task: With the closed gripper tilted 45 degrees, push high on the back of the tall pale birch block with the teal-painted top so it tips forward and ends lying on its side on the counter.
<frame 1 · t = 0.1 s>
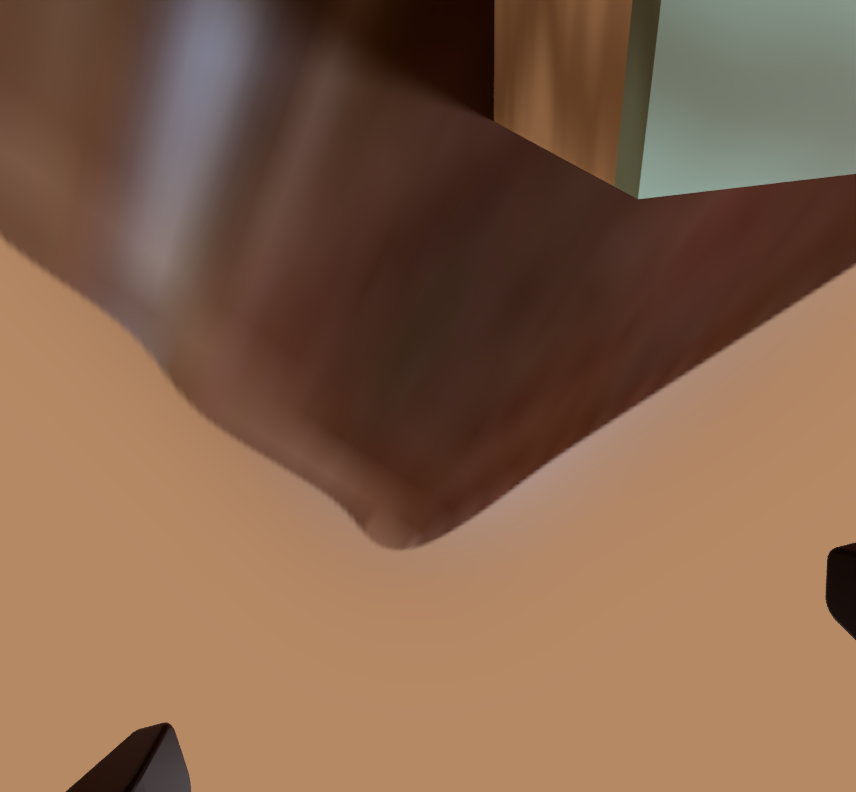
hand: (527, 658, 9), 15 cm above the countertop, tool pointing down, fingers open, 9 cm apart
birch block: (592, 32, 20), on the countertop
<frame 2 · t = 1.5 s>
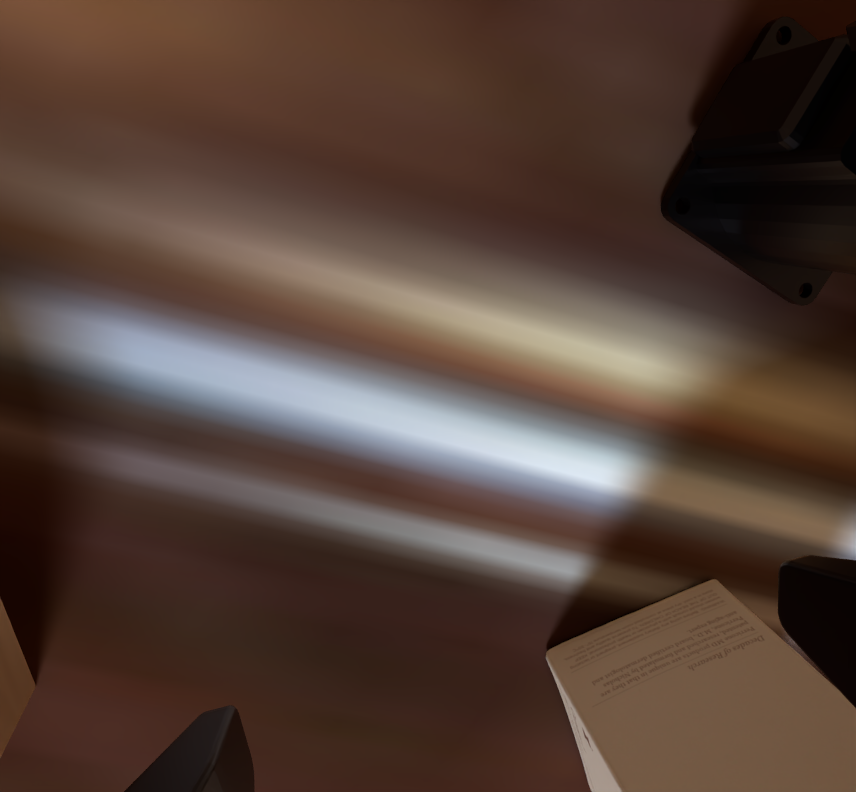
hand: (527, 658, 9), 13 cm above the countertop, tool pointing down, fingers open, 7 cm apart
supplement box: (645, 680, 27), on the countertop
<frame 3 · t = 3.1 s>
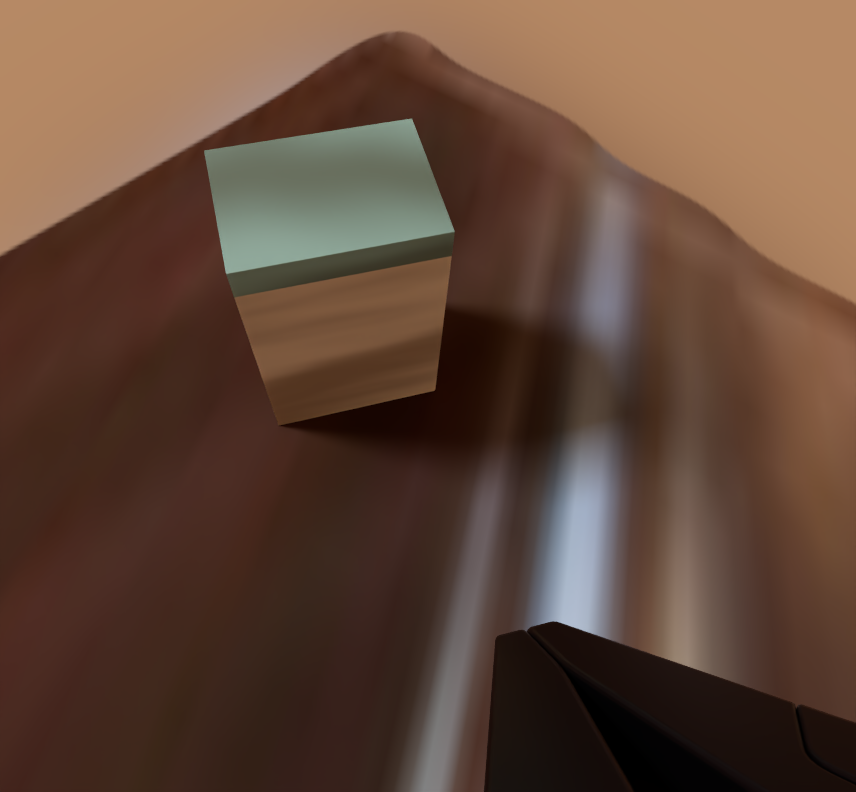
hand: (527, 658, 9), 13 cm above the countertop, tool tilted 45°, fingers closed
birch block: (345, 358, 26), on the countertop
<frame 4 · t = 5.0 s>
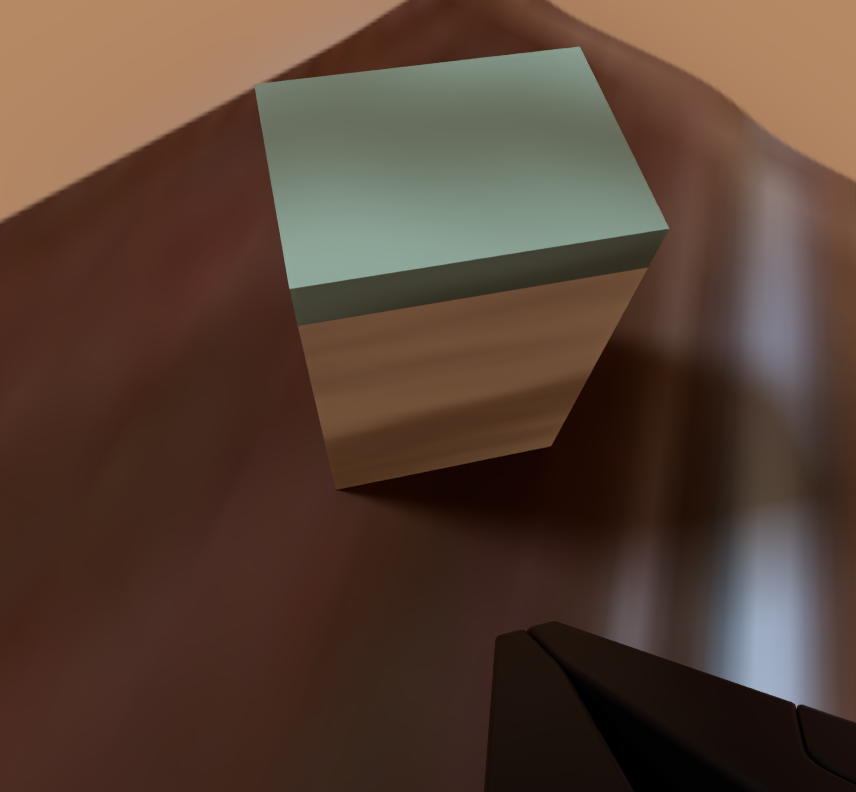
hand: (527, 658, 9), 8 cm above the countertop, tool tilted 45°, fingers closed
birch block: (427, 396, 19), on the countertop
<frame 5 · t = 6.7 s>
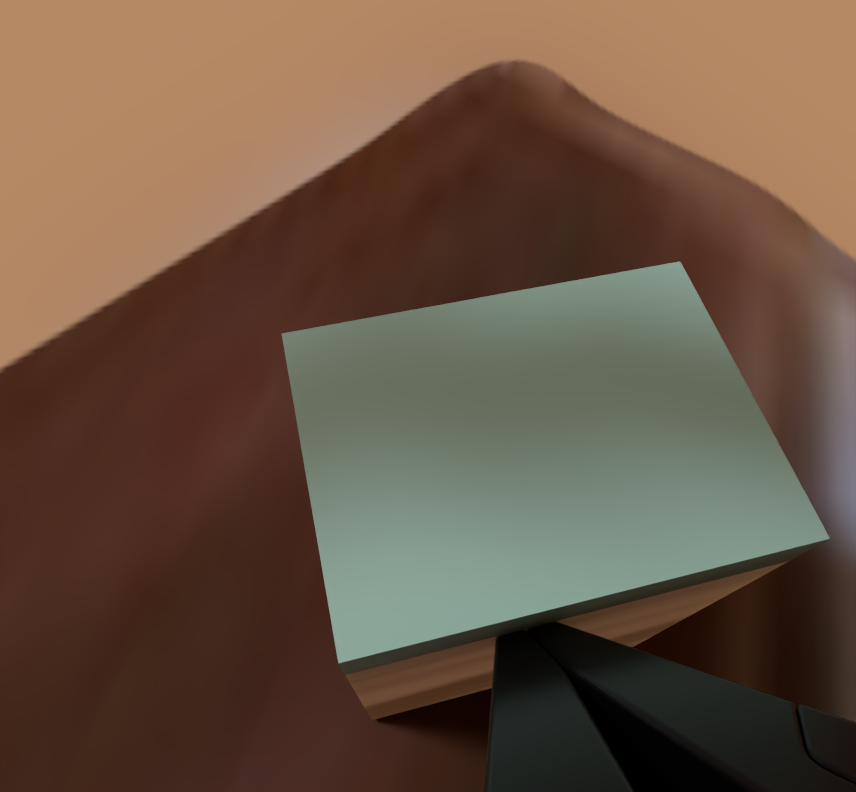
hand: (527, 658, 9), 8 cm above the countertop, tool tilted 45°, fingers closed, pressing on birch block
birch block: (474, 591, 17), on the countertop, touching gripper
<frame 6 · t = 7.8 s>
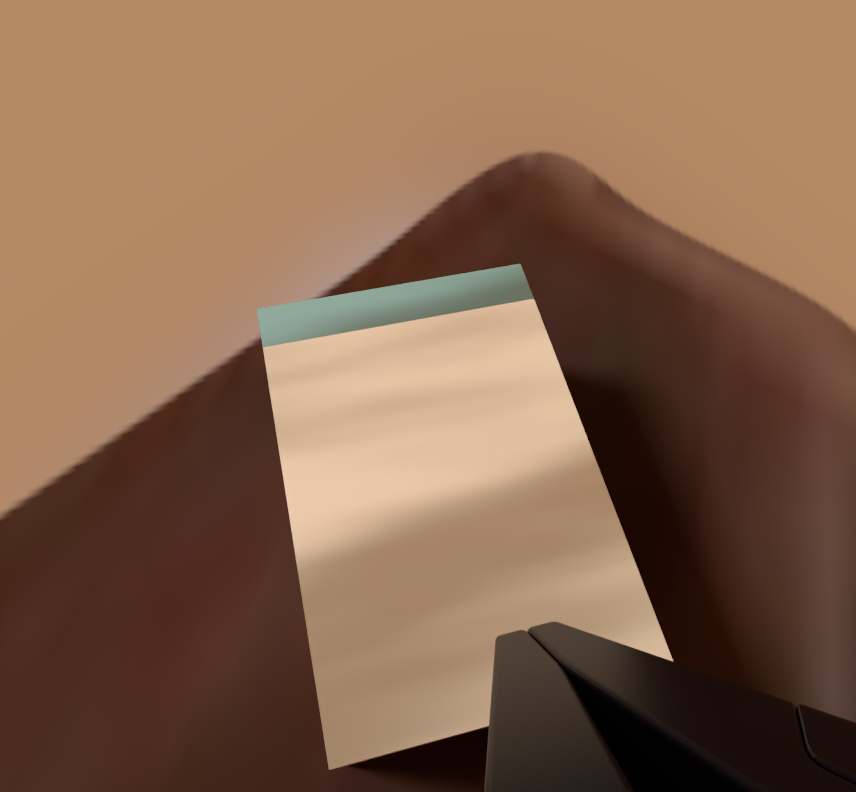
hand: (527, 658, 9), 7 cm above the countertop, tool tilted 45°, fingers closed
birch block: (493, 725, 13), point 2 cm above the countertop, tilted 90°
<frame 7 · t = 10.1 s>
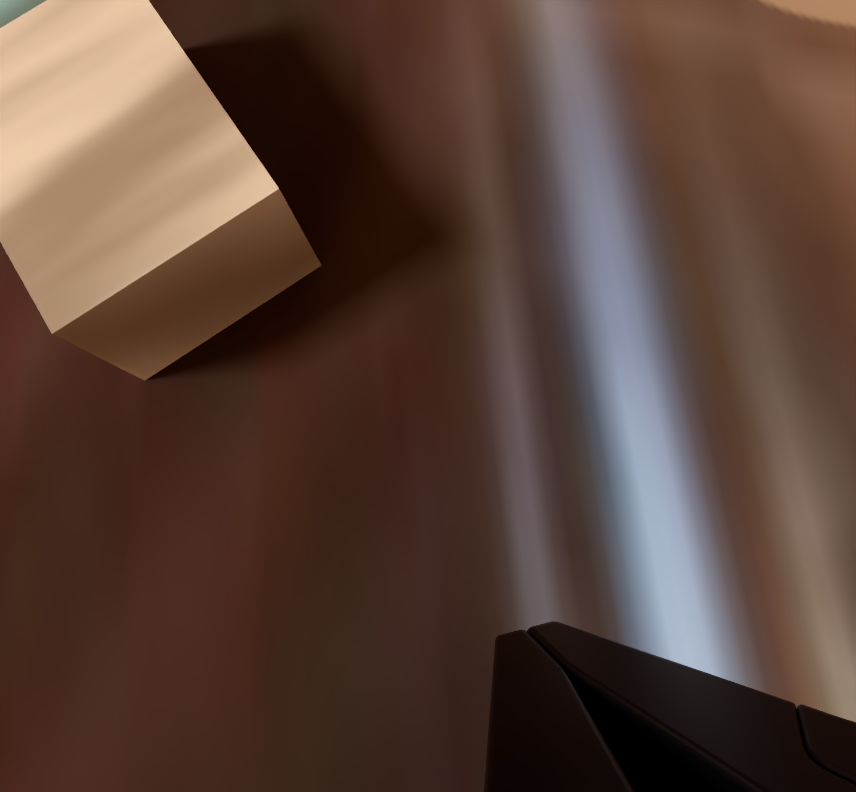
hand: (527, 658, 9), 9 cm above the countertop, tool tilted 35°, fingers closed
birch block: (205, 295, 17), point 2 cm above the countertop, tilted 90°
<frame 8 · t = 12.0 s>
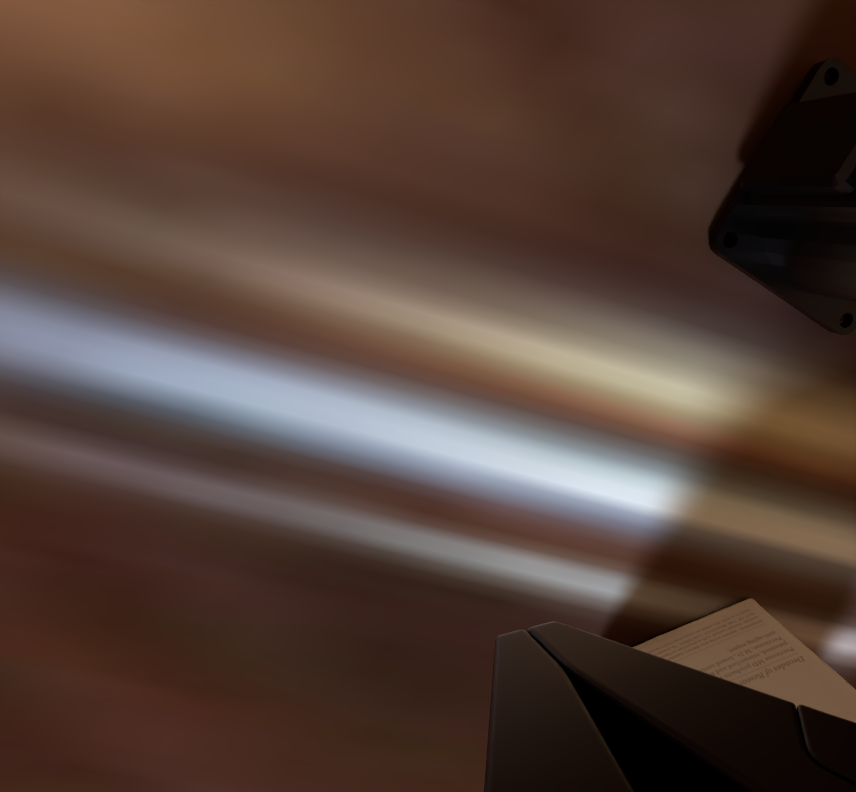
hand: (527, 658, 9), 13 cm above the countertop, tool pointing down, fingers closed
supplement box: (681, 696, 27), on the countertop
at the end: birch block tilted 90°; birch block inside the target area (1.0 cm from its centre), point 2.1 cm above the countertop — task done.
